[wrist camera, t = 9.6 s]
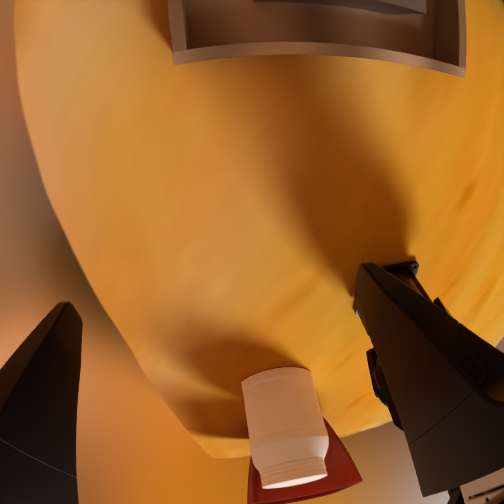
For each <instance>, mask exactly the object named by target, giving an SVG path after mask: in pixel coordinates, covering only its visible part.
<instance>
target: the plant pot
mask: <svg viewBox="0 0 504 504" xmlns="http://www.w3.org/2000/svg"><path fill="white" fill-rule="evenodd" d="M323 420H324V424H325V428H326V429H327V433H328V438H329V446H328V449H327V453H326V455H325V458H324V462H325V466H326V471H327V476H325V477H323V478H321V479H318V480H315V481H311V482H307V483H303V484H299V485H294V486H288V487H281V488H270V489H266V488H262V483H261V478H260V477H261V475H260V473H259V471H258V470H257V469H256V467H255V466H254V464H253V460H252V456H251V459H250V467H249V476H248V494H247V495H248V496H247V499H248V501H247V503H248V504H286V503H292V502H298V501H303V500H308V499H313V498H317V497H321V496H325V495H329V494H333V493H336V492H339V491H341V490H344V489H346V488H349V487H351V486H353V485H355V484H358V483H360V482H362V478H361V476H360V474H359V472H358V470H357V468H356V466H355V464H354V462H353V460H352V458H351V457H350V455H349V453H348V452H347V450H346V448H345V447H344V445H343V443H342V442H341V440H340V439H339V437H338V436H337V434H336V433H335V432H334V430H333V429H332V428H331V426H330V425H329V423H328V422H327V421H326V420H325V418H324V417H323Z"/></svg>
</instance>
